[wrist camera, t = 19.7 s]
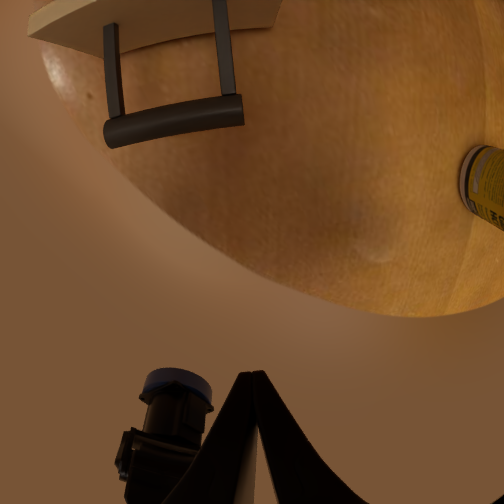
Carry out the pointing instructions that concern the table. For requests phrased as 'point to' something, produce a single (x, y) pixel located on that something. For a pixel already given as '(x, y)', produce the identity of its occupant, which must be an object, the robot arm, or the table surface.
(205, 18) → the drawer
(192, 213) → the table surface
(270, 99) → the table surface
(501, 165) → the pill bottle
